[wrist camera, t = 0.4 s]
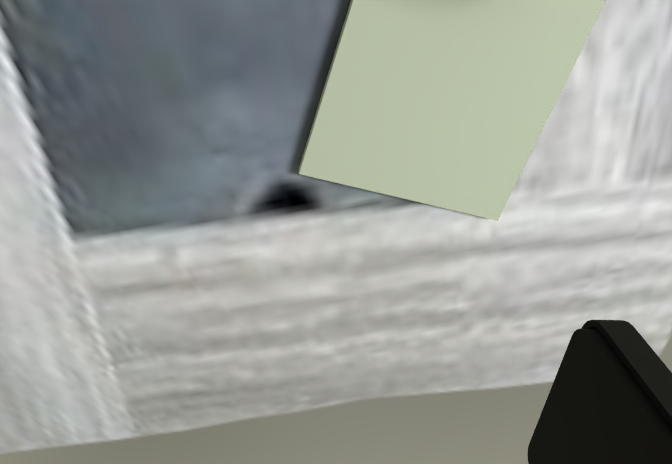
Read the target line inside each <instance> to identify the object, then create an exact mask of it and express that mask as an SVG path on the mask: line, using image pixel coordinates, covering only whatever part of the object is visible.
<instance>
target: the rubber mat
mask: <svg viewBox="0 0 672 464" xmlns="http://www.w3.org/2000/svg"><path fill="white" fill-rule="evenodd" d="M605 1H606V0H351V2H350V5H349V8H348V12H347V15H346V18H345V21H344V24H343V28H342V31H341V34H340V37H339V40H338V44H337V47H336V50H335V53H334V57H333V60H332V63H331V66H330V69H329V73H328V76H327V79H326V82H325V85H324V89H323V92H322V95H321V98H320V102H319V105H318V108H317V111H316V114H315V118H314V121H313V124H312V127H311V131H310V134H309V137H308V140H307V143H306V147H305V150H304V153H303V156H302V159H301V163H300V166H299V169H298V171H299V174H301V175H305V176H310V177H314V178H318V179H322V180H327V181H331V182H335V183H339V184H344V185H348V186H352V187H356V188H361V189H365V190H369V191H374V192H378V193H382V194H386V195H391V196H395V197H399V198H403V199H408V200H412V201H416V202H420V203H425V204H429V205H433V206H438V207H442V208H446V209H450V210H455V211H459V212H463V213H467V214H472V215H476V216H480V217H484V218H489V219H493V220H497V221H498V219H499V217H500V215H501V213H502V211H503V209H504V207H505V205H506V202H507V200H508V198H509V196H510V194H511V192H512V190H513V188H514V186H515V184H516V182H517V180H518V178H519V176H520V174H521V172H522V170H523V168H524V166H525V164H526V162H527V160H528V158H529V156H530V154H531V152H532V150H533V148H534V146H535V144H536V142H537V140H538V138H539V135H540V133H541V131H542V129H543V127H544V125H545V123H546V121H547V119H548V117H549V115H550V113H551V111H552V109H553V107H554V105H555V103H556V101H557V99H558V97H559V95H560V93H561V91H562V89H563V87H564V85H565V83H566V81H567V79H568V77H569V75H570V73H571V71H572V68H573V66H574V64H575V62H576V60H577V58H578V56H579V54H580V52H581V50H582V48H583V46H584V44H585V42H586V40H587V38H588V36H589V34H590V32H591V30H592V28H593V26H594V24H595V22H596V20H597V18H598V16H599V14H600V12H601V10H602V8H603V6H604V4H605Z"/></svg>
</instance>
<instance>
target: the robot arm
mask: <svg viewBox="0 0 672 464" xmlns="http://www.w3.org/2000/svg"><path fill="white" fill-rule="evenodd" d="M528 462H529V464H672V373H671V371H670V370H669V369H668V368H667V367H666V365H665V364H664V363H663V362H662V361H661V359H660V358H659V357H658V356H657V354H656V353H655V352H654V351H653V350H652V348H651V347H650V346H649V345H648V344H647V342H646V341H645V340H644V339H643V337H642V336H641V335H640V334H639V333H638V331H637V330H636V329H635V328H634V327H633V326H632V325H631V324H630V323H629V322H626V321H622V320H590V321H587V322H586V323H585V324H584V325H583V327H582V329H577V330H576V331H575V332H574V333H573V335H572V337H571V340H570V342H569V345H568V347H567V350H566V352H565V355H564V357H563V360H562V363H561V365H560V368H559V370H558V373H557V375H556V378H555V380H554V383H553V385H552V388H551V390H550V393H549V395H548V398H547V400H546V403H545V406H544V408H543V411H542V413H541V416H540V418H539V421H538V424H537V426H536V429H535V431H534V433H533V436H532V438H531V441H530V444H529V447H528Z"/></svg>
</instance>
